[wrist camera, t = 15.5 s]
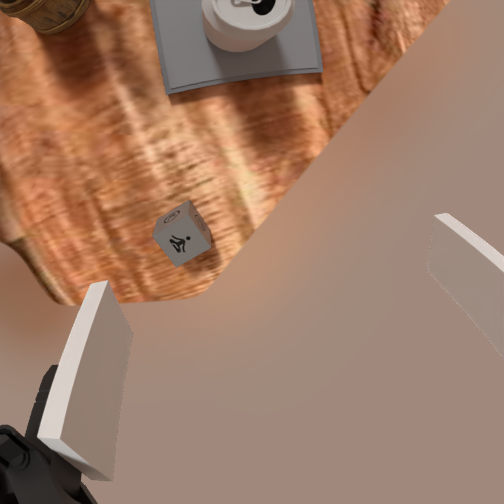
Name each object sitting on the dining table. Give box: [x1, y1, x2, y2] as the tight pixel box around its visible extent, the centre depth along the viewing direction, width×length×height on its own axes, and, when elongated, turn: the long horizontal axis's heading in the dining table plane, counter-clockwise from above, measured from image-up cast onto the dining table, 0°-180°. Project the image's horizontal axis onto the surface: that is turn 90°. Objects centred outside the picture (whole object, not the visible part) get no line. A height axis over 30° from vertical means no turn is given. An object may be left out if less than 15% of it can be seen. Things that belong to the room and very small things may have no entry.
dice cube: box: [152, 200, 211, 267], centre depth 39 cm, size 5×5×5 cm
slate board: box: [150, 0, 323, 95], centre depth 29 cm, size 18×14×2 cm
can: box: [202, 0, 295, 52], centre depth 23 cm, size 8×8×12 cm
